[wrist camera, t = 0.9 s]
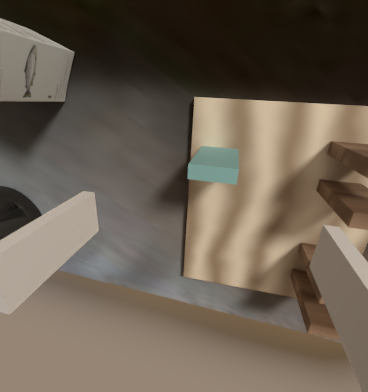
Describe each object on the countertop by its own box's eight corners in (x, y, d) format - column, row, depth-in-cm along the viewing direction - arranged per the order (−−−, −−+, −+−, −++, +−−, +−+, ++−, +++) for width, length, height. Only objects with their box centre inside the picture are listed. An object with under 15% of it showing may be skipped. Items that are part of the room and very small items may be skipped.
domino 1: (236, 160, 32) (236, 184, 23) (201, 157, 33) (187, 178, 24) (238, 149, 31) (238, 169, 22) (202, 145, 32) (188, 163, 23)
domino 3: (323, 282, 36) (352, 343, 27) (290, 276, 37) (307, 333, 28) (326, 274, 36) (357, 333, 27) (292, 268, 36) (311, 324, 27)
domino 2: (333, 256, 34) (368, 312, 25) (298, 251, 35) (319, 303, 26) (337, 247, 34) (373, 302, 25) (300, 242, 34) (323, 292, 25)
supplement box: (66, 103, 35) (-16, 105, 24) (24, 80, 35) (-78, 71, 24) (77, 52, 32) (-11, 25, 21) (30, 27, 32) (-84, -14, 21)
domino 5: (357, 195, 30) (407, 235, 21) (316, 190, 31) (348, 227, 22) (361, 183, 30) (415, 220, 21) (319, 179, 31) (353, 212, 22)
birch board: (184, 271, 43) (183, 276, 42) (195, 97, 31) (194, 97, 30) (336, 300, 38) (339, 306, 37) (418, 108, 26) (425, 109, 25)
